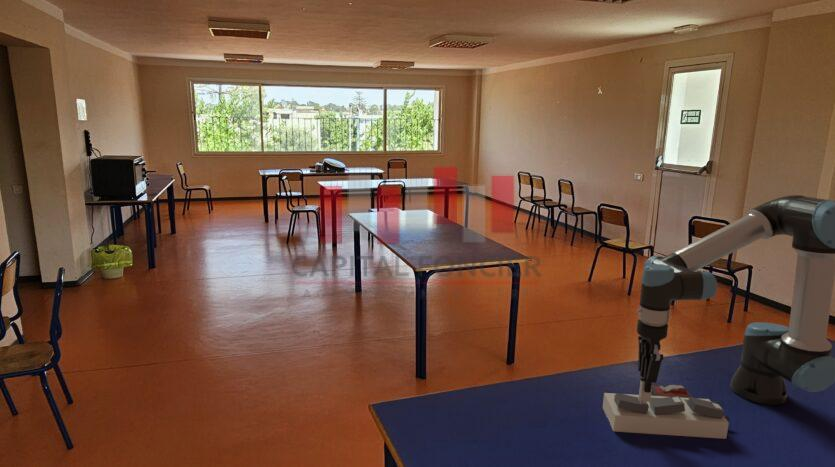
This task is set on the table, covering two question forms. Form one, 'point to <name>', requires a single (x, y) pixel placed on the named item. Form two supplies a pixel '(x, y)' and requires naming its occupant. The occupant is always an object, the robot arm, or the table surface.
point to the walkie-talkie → (671, 391)
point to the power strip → (664, 420)
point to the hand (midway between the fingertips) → (644, 400)
